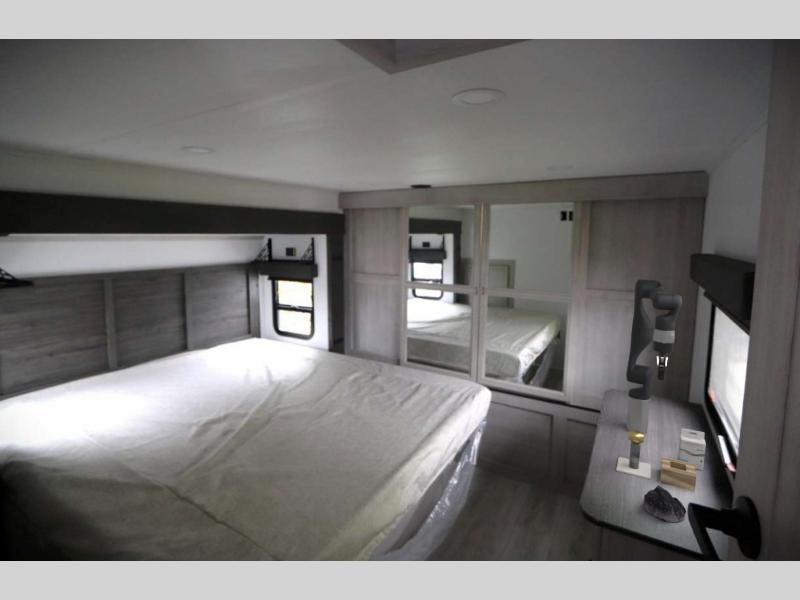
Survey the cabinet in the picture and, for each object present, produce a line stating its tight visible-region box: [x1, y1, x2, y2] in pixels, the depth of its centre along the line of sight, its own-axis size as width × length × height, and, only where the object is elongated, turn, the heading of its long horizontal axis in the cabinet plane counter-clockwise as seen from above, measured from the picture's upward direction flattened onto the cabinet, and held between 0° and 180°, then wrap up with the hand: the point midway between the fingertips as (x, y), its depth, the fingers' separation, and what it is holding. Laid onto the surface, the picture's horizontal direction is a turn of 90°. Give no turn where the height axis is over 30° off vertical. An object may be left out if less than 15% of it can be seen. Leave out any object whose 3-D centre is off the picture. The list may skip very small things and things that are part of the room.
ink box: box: [677, 427, 707, 471], centre depth 173 cm, size 9×5×15 cm, turn 59°
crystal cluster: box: [643, 484, 687, 523], centre depth 145 cm, size 13×14×10 cm
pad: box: [615, 456, 652, 480], centre depth 173 cm, size 12×12×1 cm
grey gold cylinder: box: [627, 430, 645, 469], centre depth 172 cm, size 6×6×15 cm
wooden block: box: [659, 456, 697, 493], centre depth 163 cm, size 11×11×6 cm
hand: (660, 376), depth 177 cm, fingers open, 8 cm apart
